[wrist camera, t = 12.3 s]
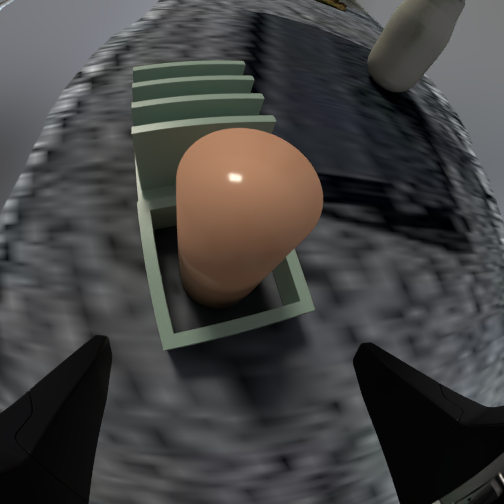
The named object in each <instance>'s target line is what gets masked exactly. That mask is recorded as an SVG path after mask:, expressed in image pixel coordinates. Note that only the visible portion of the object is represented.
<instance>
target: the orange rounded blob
mask: <svg viewBox="0 0 504 504" xmlns="http://www.w3.org/2000/svg"><path fill="white" fill-rule="evenodd" d="M176 204H177V237H178V257H179V273H180V280H181V283H182V285H183V287H184V289H185V291H186V292H187V294H188V295H189V296H190V297H191V298H192V299H193V300H195V301H196V302H198V303H199V304H201V305H203V306H206V307H210V308H227V307H231V306H233V305H235V304H237V303H239V302H240V301H242V300H243V299H244V298H245V297H246V296H247V295H248V294H249V293H250V292H251V291H252V290H253V289H254V288H255V287H256V286H257V285H258V284H259V283H260V282H261V281H262V280H263V279H264V278H265V277H266V276H267V275H268V274H269V273H270V272H271V271H272V270H273V269H275V268H276V267H277V266H278V265H279V264H280V263H281V262H282V261H283V260H284V259H285V257H286V256H287V255H288V254H289V253H290V252H291V251H292V250H293V249H294V248H295V247H296V246H297V245H298V244H299V243H300V242H301V241H302V240H303V239H304V238H305V237H306V236H307V235H308V234H309V233H310V232H311V231H312V230H313V228H314V227H315V226H316V224H317V222H318V220H319V218H320V215H321V212H322V206H323V193H322V187H321V184H320V180H319V178H318V176H317V173H316V172H315V170H314V168H313V166H312V165H311V164H310V162H309V161H308V160H307V159H306V157H305V156H304V155H303V154H302V153H301V152H300V151H298V150H297V149H296V148H295V147H294V146H292V145H291V144H289V143H288V142H286V141H285V140H283V139H281V138H279V137H277V136H275V135H272V134H270V133H267V132H264V131H260V130H255V129H249V128H230V129H223V130H219V131H215V132H213V133H210V134H208V135H206V136H204V137H202V138H200V139H199V140H198V141H196V142H195V143H194V144H193V145H192V146H190V147H189V149H188V150H187V151H186V152H185V154H184V155H183V157H182V159H181V161H180V163H179V166H178V170H177V175H176Z"/></svg>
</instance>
